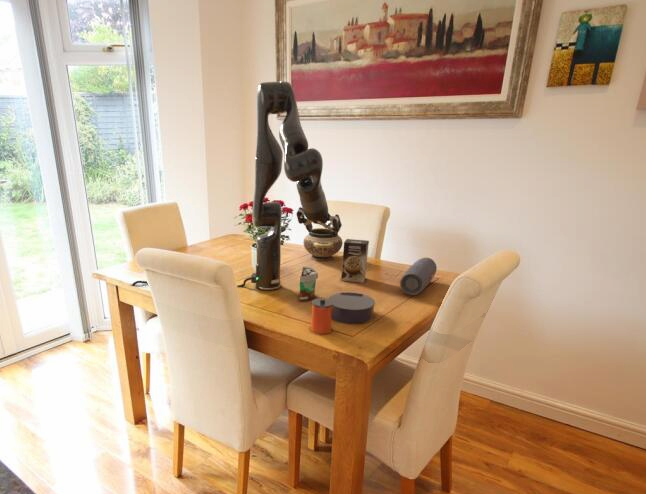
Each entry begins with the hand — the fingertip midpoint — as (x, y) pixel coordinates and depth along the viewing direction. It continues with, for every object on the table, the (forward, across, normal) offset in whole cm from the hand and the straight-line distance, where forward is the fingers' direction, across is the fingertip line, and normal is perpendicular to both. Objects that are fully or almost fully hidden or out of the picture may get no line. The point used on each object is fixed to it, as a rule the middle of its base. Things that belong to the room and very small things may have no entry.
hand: (322, 232), depth 154 cm
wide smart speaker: (+17, -15, +19) cm, 29 cm away
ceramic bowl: (+58, +19, -21) cm, 65 cm away
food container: (+24, +4, +14) cm, 28 cm away
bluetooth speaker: (+40, -29, -8) cm, 50 cm away
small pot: (+6, -11, +31) cm, 33 cm away
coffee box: (+41, -4, -6) cm, 42 cm away
